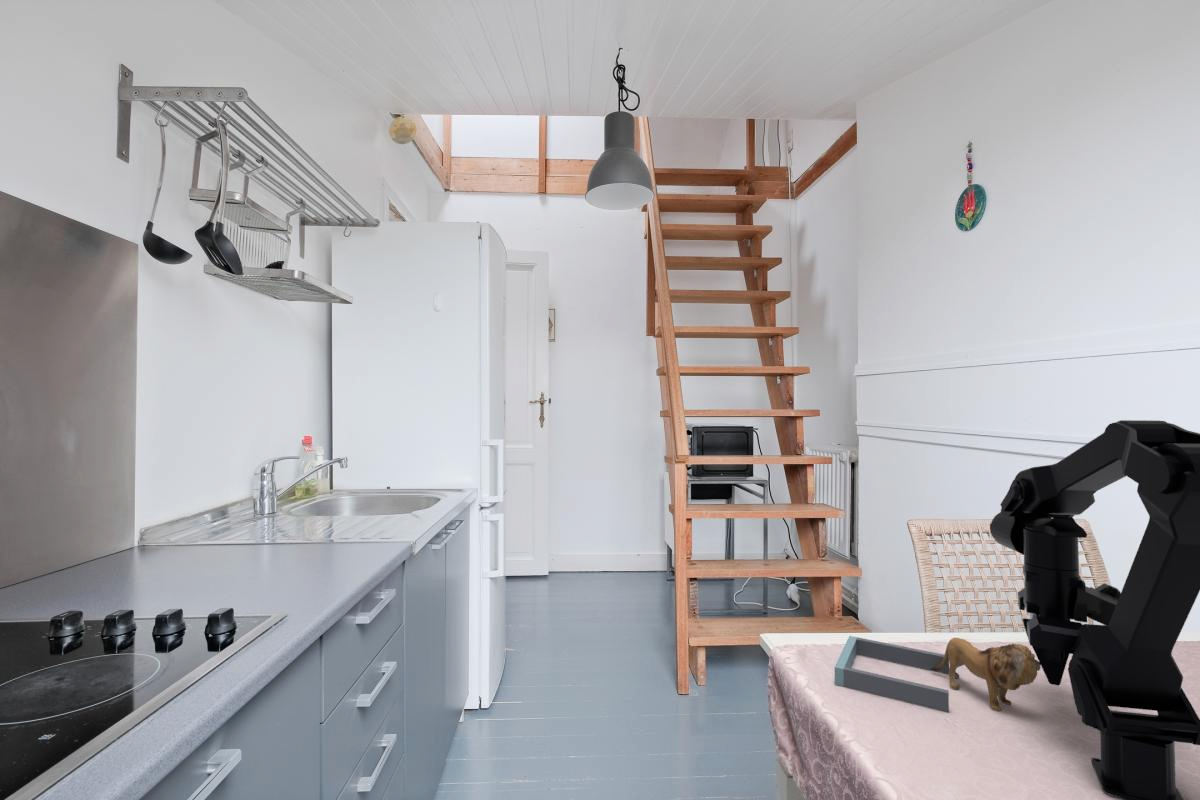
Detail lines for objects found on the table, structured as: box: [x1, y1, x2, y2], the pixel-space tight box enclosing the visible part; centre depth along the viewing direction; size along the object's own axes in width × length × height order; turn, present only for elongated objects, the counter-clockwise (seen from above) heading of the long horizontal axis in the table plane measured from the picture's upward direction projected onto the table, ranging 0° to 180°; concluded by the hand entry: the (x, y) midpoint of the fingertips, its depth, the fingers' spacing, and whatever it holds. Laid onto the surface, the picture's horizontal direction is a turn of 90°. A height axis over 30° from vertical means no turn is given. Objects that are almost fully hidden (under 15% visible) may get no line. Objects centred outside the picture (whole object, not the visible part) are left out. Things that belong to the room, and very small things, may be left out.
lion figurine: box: [930, 637, 1042, 712], centre depth 79 cm, size 15×5×9 cm, turn 24°
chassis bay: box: [834, 635, 950, 713], centre depth 84 cm, size 14×14×2 cm
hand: (1054, 683), depth 74 cm, fingers closed
